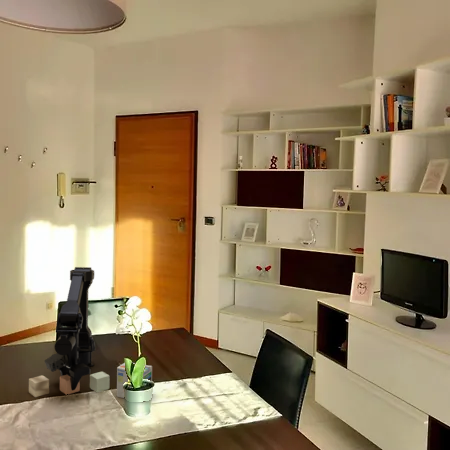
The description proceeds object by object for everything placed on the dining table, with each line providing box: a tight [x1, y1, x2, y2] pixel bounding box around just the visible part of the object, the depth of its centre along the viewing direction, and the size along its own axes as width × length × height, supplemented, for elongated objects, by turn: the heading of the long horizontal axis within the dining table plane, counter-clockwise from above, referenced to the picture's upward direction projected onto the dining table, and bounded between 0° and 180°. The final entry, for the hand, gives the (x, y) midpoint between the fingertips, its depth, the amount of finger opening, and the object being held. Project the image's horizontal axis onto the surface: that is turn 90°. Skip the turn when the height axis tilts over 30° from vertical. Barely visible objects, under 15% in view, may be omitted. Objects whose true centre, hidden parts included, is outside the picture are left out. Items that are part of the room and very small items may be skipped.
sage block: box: [89, 371, 111, 393], centre depth 189 cm, size 5×5×5 cm
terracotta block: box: [59, 375, 81, 396], centre depth 187 cm, size 5×5×5 cm
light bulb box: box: [116, 362, 153, 399], centre depth 184 cm, size 11×7×11 cm, turn 71°
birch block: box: [28, 375, 50, 398], centre depth 184 cm, size 5×5×5 cm
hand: (69, 387), depth 187 cm, fingers closed on terracotta block, 5 cm apart
